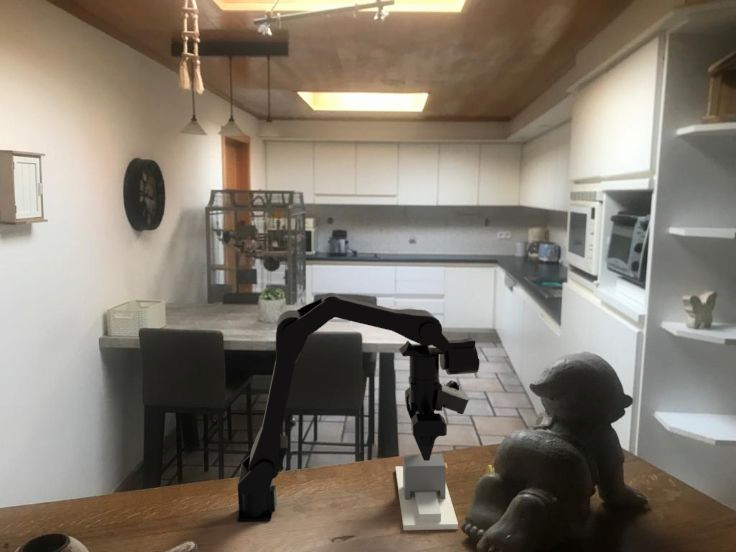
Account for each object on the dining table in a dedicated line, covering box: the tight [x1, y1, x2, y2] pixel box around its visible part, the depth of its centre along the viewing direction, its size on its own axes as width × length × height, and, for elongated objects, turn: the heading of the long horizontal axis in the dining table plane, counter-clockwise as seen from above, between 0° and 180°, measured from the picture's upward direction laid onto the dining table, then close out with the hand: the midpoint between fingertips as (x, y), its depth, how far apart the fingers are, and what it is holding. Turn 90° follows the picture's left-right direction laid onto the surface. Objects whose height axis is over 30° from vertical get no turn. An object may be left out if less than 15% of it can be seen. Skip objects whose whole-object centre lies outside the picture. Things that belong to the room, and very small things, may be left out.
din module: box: [402, 453, 449, 500], centre depth 113 cm, size 9×5×7 cm, turn 91°
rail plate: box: [395, 465, 459, 531], centre depth 114 cm, size 10×22×2 cm, turn 1°
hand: (424, 450), depth 112 cm, fingers open, 8 cm apart
